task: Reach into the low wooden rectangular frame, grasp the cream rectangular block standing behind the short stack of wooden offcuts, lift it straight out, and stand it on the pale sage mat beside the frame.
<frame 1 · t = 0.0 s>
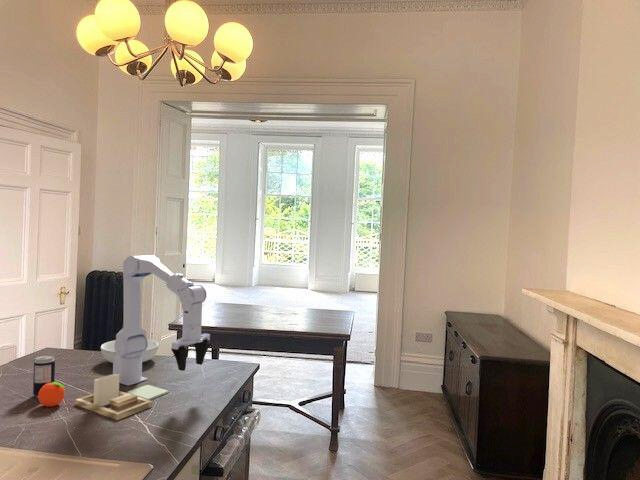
hand: (190, 366, 147), 10 cm above the kitchen island, tool pointing down, fingers open, 7 cm apart
beverage can: (43, 396, 145), on the kitchen island
clementine: (53, 406, 138), on the kitchen island
cream rectangular block: (106, 403, 141), resting in wooden rectangular frame
wooden rectangular frame: (113, 405, 140), on the kitchen island
serving bowl: (129, 362, 182), on the kitchen island
sage mat: (147, 393, 150), on the kitchen island
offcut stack: (123, 410, 137), resting in wooden rectangular frame
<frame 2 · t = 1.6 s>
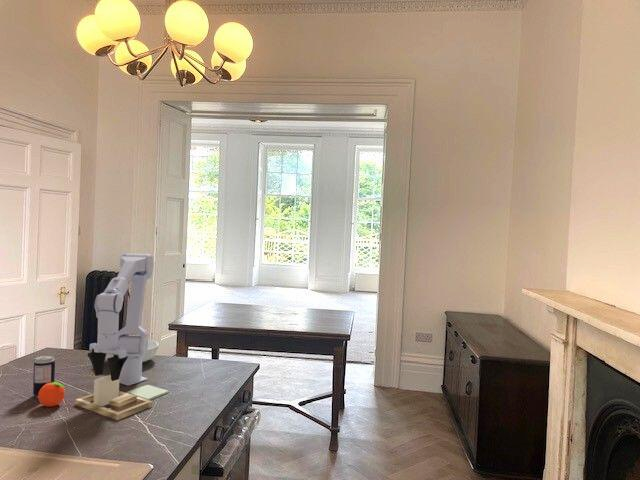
hand: (106, 377, 141), 8 cm above the kitchen island, tool pointing down, fingers open, 7 cm apart
nothing on the kitchen island moved.
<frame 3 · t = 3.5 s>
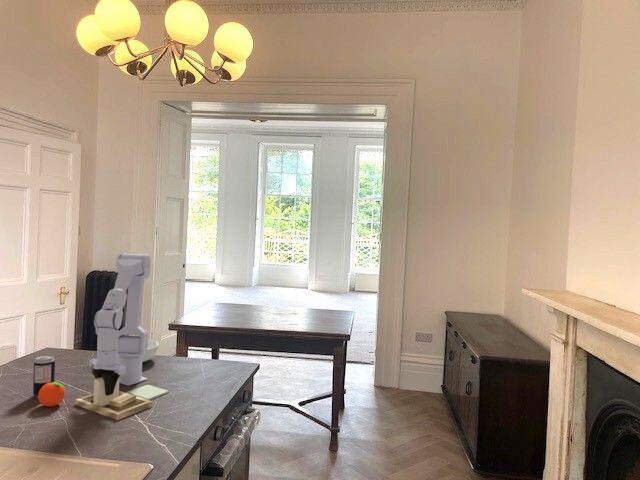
hand: (106, 393, 141), 3 cm above the kitchen island, tool pointing down, fingers closed on cream rectangular block, 2 cm apart
cream rectangular block: (106, 403, 141), resting in wooden rectangular frame, touching gripper
everything else where it was.
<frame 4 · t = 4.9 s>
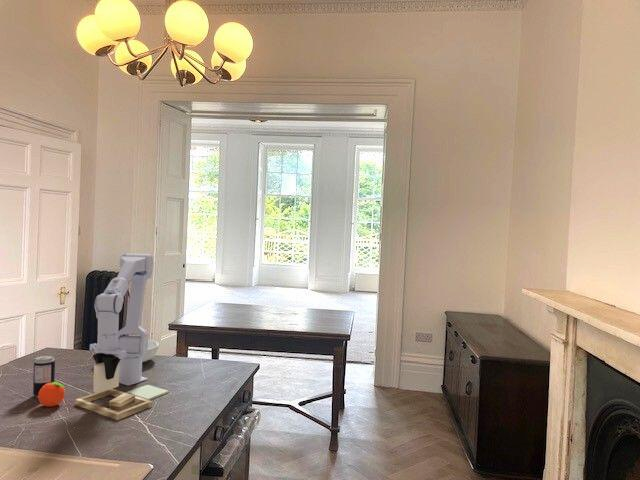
hand: (107, 377, 141), 8 cm above the kitchen island, tool pointing down, fingers closed on cream rectangular block, 2 cm apart
cream rectangular block: (106, 388, 141), point 4 cm above the kitchen island, touching gripper
everything else where it was.
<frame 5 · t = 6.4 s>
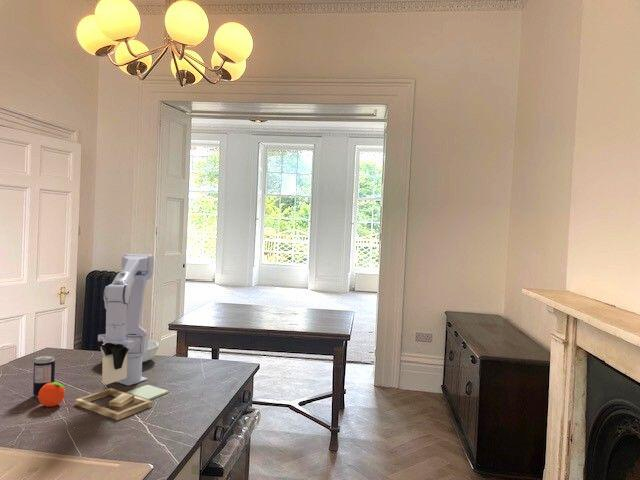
hand: (115, 367, 143), 10 cm above the kitchen island, tool pointing down, fingers closed on cream rectangular block, 2 cm apart
cream rectangular block: (114, 380, 143), point 6 cm above the kitchen island, touching gripper
everything else where it was.
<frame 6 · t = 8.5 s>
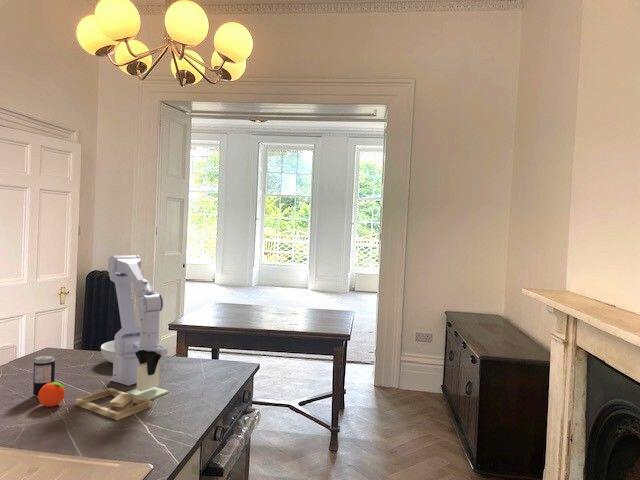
hand: (148, 373, 150), 6 cm above the kitchen island, tool pointing down, fingers closed on cream rectangular block, 2 cm apart
cream rectangular block: (148, 387, 150), point 2 cm above the kitchen island, touching gripper
when the fingers open (4 cm above the kitchen island, at t = 9.7 s): cream rectangular block stays where it is, resting on sage mat.
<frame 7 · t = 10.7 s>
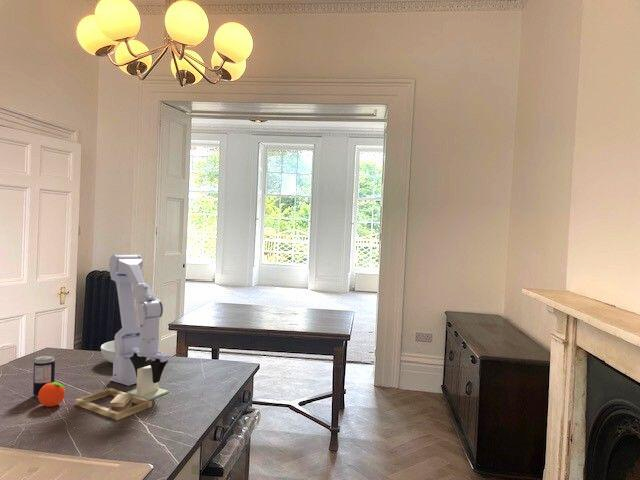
hand: (148, 379, 150), 4 cm above the kitchen island, tool pointing down, fingers open, 7 cm apart
cream rectangular block: (147, 391, 150), point 1 cm above the kitchen island, touching sage mat
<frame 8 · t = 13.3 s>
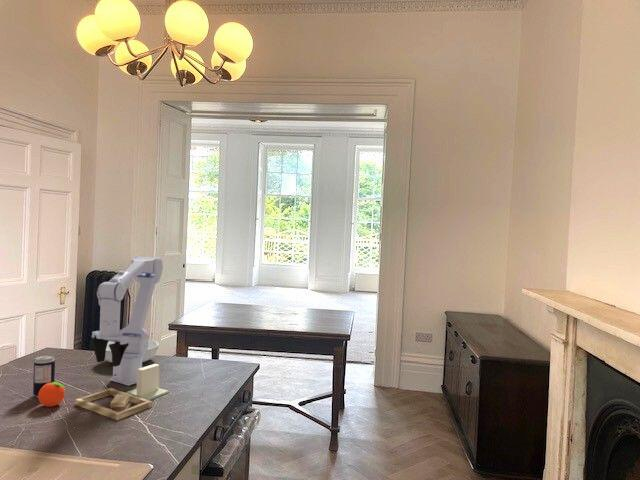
hand: (108, 363, 146), 10 cm above the kitchen island, tool pointing down, fingers open, 7 cm apart
at the end: cream rectangular block inside the target area on the sage mat (0.0 cm from its centre), point 0.6 cm above the sage mat's base; cream rectangular block tilted 0°; the gripper is holding nothing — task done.
